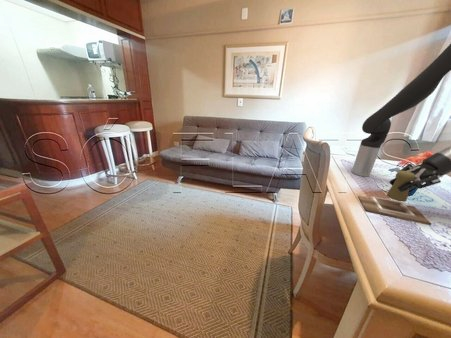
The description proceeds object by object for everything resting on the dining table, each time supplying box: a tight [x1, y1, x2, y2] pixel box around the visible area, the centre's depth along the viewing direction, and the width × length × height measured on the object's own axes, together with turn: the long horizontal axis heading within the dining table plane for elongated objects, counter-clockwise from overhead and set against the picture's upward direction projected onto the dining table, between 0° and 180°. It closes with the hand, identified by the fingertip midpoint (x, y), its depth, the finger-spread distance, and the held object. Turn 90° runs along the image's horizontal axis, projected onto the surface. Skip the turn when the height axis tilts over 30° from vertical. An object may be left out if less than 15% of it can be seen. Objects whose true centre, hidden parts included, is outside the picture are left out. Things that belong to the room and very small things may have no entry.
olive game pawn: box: [386, 170, 415, 203], centre depth 71 cm, size 6×6×11 cm
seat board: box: [357, 195, 432, 226], centre depth 75 cm, size 12×20×2 cm, turn 68°
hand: (395, 186), depth 72 cm, fingers closed on olive game pawn, 4 cm apart
